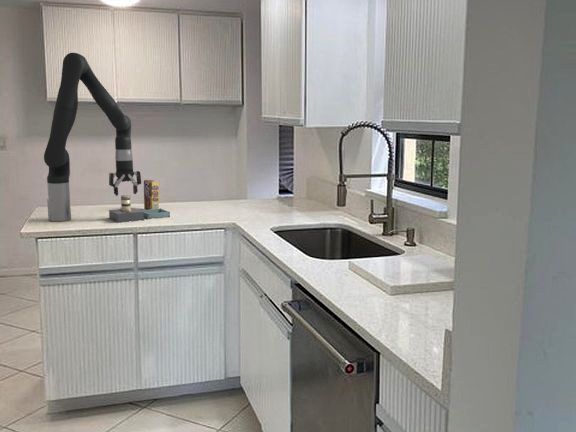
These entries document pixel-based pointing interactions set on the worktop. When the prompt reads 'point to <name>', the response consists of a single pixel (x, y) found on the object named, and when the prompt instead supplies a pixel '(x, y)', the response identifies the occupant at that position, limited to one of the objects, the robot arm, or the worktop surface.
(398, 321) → the worktop surface
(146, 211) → the tray
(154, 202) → the candy box
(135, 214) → the fuse block
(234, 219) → the worktop surface
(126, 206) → the fuse
